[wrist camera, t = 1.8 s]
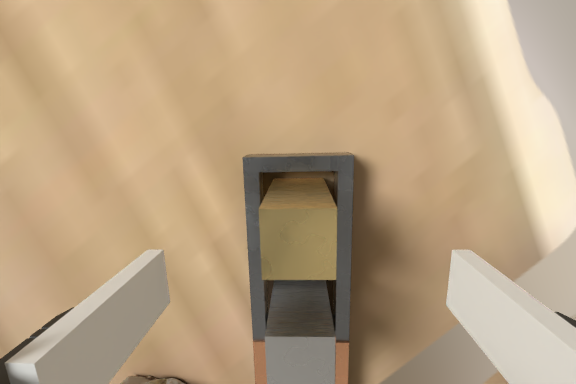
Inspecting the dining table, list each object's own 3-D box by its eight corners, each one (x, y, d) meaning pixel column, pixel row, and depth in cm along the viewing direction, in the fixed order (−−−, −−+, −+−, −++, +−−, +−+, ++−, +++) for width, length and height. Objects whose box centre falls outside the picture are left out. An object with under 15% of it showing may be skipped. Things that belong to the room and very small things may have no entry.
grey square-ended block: (278, 305, 29) (267, 394, 19) (276, 264, 28) (264, 336, 18) (322, 305, 29) (334, 395, 19) (322, 264, 28) (335, 337, 18)
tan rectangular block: (275, 225, 27) (261, 280, 18) (273, 178, 26) (258, 209, 17) (323, 225, 27) (336, 279, 17) (323, 177, 26) (337, 207, 16)
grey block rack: (260, 392, 32) (257, 416, 29) (248, 154, 26) (242, 157, 23) (343, 393, 31) (347, 418, 29) (348, 152, 25) (354, 155, 23)
